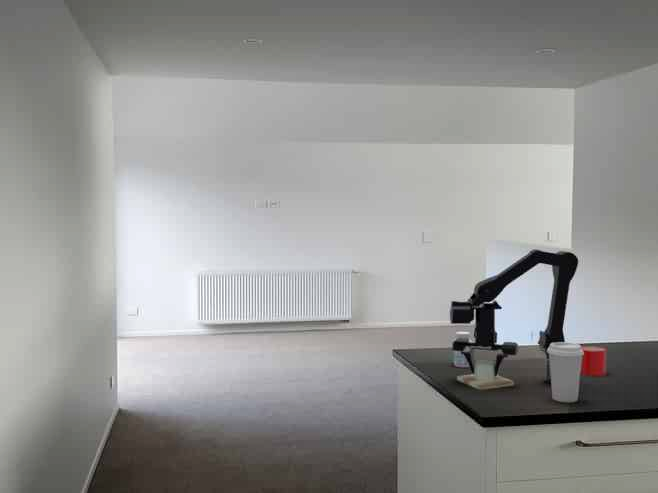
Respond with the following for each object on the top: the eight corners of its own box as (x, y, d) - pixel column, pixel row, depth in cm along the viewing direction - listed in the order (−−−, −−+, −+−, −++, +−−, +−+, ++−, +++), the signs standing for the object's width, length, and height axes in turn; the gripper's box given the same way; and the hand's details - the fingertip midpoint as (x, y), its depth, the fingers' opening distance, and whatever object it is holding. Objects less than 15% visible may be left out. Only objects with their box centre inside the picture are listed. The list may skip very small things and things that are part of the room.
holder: (513, 385, 193) (513, 374, 192) (479, 389, 188) (479, 378, 188) (489, 376, 204) (489, 365, 204) (457, 380, 199) (457, 369, 199)
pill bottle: (471, 363, 220) (471, 331, 220) (473, 368, 214) (473, 334, 214) (453, 363, 221) (453, 330, 220) (454, 367, 215) (454, 334, 214)
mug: (571, 366, 215) (571, 343, 214) (609, 372, 207) (609, 348, 206) (562, 371, 209) (562, 347, 208) (600, 377, 201) (601, 352, 200)
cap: (490, 382, 192) (490, 365, 192) (471, 379, 195) (471, 362, 195) (498, 378, 196) (498, 361, 196) (479, 375, 200) (480, 359, 200)
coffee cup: (574, 393, 183) (575, 341, 182) (589, 403, 174) (590, 348, 173) (541, 394, 183) (541, 341, 182) (554, 404, 173) (554, 349, 173)
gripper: (520, 321, 199) (520, 371, 199) (460, 317, 206) (460, 366, 207) (515, 327, 188) (515, 380, 189) (451, 323, 196) (452, 374, 197)
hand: (484, 374), depth 196 cm, fingers closed on cap, 6 cm apart
